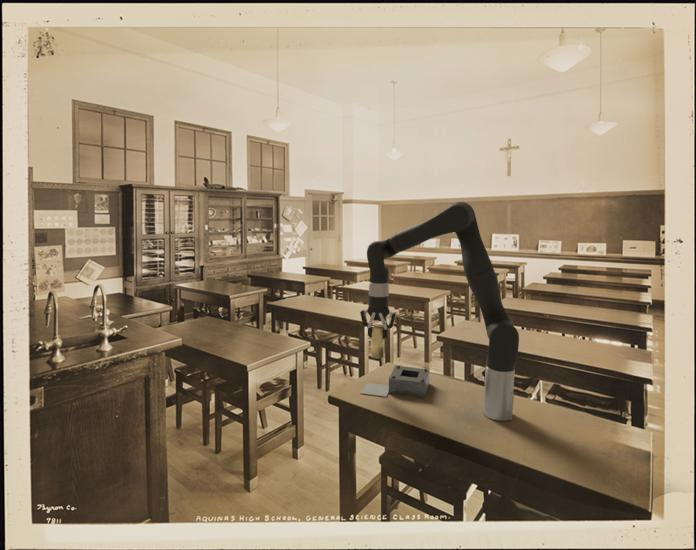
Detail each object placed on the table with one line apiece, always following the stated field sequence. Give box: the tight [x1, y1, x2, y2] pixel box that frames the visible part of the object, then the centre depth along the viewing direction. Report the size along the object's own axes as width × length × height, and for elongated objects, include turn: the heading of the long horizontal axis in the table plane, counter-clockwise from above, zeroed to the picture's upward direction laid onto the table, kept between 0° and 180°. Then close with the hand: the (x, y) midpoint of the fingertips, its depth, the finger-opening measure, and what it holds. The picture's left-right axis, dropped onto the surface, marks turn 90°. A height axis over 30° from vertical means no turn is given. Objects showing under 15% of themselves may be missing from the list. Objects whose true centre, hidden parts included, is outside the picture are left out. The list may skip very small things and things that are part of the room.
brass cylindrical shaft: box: [370, 323, 385, 359], centre depth 156 cm, size 5×5×12 cm
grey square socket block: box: [388, 365, 431, 399], centre depth 161 cm, size 14×14×7 cm
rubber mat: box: [360, 382, 390, 398], centre depth 159 cm, size 10×10×1 cm
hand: (377, 337), depth 156 cm, fingers closed on brass cylindrical shaft, 5 cm apart
